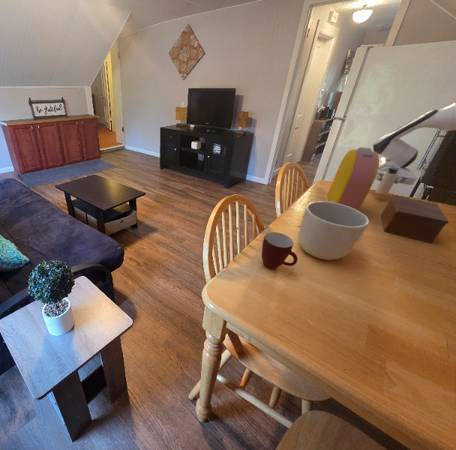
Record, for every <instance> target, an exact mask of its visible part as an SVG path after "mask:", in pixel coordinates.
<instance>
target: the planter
mask: <svg viewBox="0 0 456 450" xmlns="http://www.w3.org/2000/svg"><path fill="white" fill-rule="evenodd" d="M303 215H304V216H302V220H301V223H300V226H301V227H299V230H298V242H299V245H300V246H301V248H302V249H303V250H304V251H305V253H307V254H309V255H311V256H312V257H314V258H317V259H321V260H325V261H326V260H327V261H333V260H334V261H335V260H338V259H341V258H344V257H345V256H347V255H348V254H349V253H351V251H352V250H353V248H354V247H355V245H356V244H357V243H358V241H359V240H360V238H361V237H362V235H363V234H364V233H365V230H367V228H368V226H369V225H370V219H369V217H368V216H367V215H366V214H364V213H363V212H362V211H360V210H359V211H358V210H356V209H354V208H351V207H349V206H346V205H342V204H338V203H333V202H329V201H323V200H322V201H321V200H318V201H311V202H309V203H308V204H307V205H306V206H305V208H304V213H303Z"/></svg>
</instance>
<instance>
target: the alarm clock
mask: <svg viewBox="0 0 456 450" xmlns="http://www.w3.org/2000/svg"><path fill="white" fill-rule="evenodd" d="M379 159H380V155H379V154H378V153H376V152H374V150H373V149H372V148H371V147H363V146H361V147H358V148H357V149H349V150H348V151H347V152H346V154H345V155H344V156H343V157H342V160H341V162H340V164H339V165H338V167H337V170H336V172H335V175H334V177H333V180H332V183H331V185H330V188H329V190H328V191H327V199H328V202H333V203H338V204H342V205H346V206H349V207H351V208H354V209H356V210H358V211H360V209H361V208H362V205H363V203H364V202H365V200H366V198H367V196H368V194H369V192H370V190H371V188H372V186H373V184H374V182H375V180H376V179H375V177H376V174H377V171H378V167H379Z"/></svg>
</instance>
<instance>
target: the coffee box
mask: <svg viewBox="0 0 456 450" xmlns="http://www.w3.org/2000/svg"><path fill="white" fill-rule="evenodd" d="M380 219H381V224H382V228H383V232H384V233H387V234H391V235H395V236H399V237H403V238H409V239H411V240H416V241H420V242H423V243H428V244H432V243H433V242H434V240H435V239H436V238H437V237H438V235H439V234H440V233H441V231H442V230H443V229H444V227H445V226H446V224H445V223H441V222H436V221H431V220H427V219H422V218H417V217H413V216H408V215H404V214H399V213H396V210H395V207H394V204H393V201H392V198H391V197H390V198H389V200H388V202H387V204H386V206H385V207H384V209H383V211H382V212H381V214H380Z"/></svg>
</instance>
